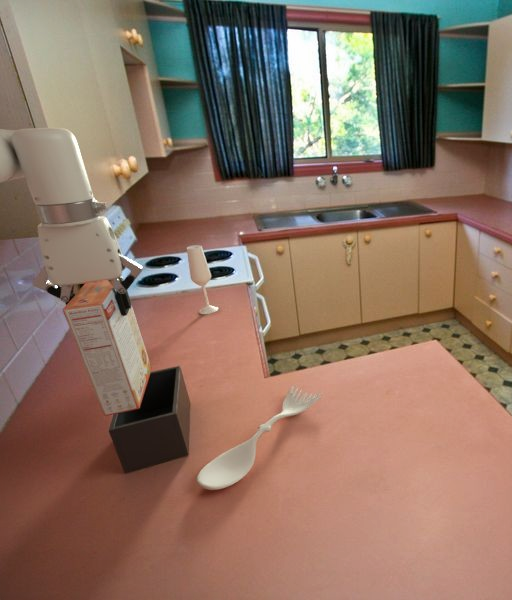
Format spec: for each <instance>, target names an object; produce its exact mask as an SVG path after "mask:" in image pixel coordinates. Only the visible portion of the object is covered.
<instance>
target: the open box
mask: <svg viewBox="0 0 512 600" xmlns="http://www.w3.org/2000/svg"><path fill="white" fill-rule="evenodd" d="M190 425H191V399H190V396H189V393H188V389H187V385H186V382H185V378H184V375H183V371H182V368H181V365H176V366H172V367H168V368H167V367H166V368H162V369H158V370H154V371H151V373H150V376H149V379H148V383H147V386H146V389H145V392H144V396H143V399H142V402H141V405H140V408H139V409H135V410H131V411H126V412H121V413H117V414H112V418H111V421H110V424H109V427H108V433H109V436H110V438H111V440H112V443H113V446H114V448H115V451H116V454H117V457H118V459H119V461H120V464H121V467H122V470H123V473H124V474H129V473H132V472H136V471H139V470H143V469H146V468H150V467H154V466H156V465H160V464H164V463H167V462H171V461H175V460H178V459H181V458H184V457H188V456H189V455H190V428H191V426H190Z"/></svg>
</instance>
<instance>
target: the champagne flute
mask: <svg viewBox="0 0 512 600" xmlns="http://www.w3.org/2000/svg"><path fill="white" fill-rule="evenodd" d="M186 255H187V261H188V268H189V275H190V280H191V281H192V283H194V284H195V285H197V286H199V287H201V291H202V296H203V299H204V303H205V304H204V305H205V306H203V307H201V309H199V310H198V313H199V314H200V315H210V314H213V313H215V312H218V310H219V307H218V306H214V305H211V304H210V302H209V298H208V293H207V289H206V286H207V284H208V283H209V282H210V281H211V279H212V273H211V270H210V268H209V264H208V262H207V257H206V255H205V252H204V249H203V245H200V244H194V245H189V246H187V247H186Z"/></svg>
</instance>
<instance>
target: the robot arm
mask: <svg viewBox="0 0 512 600" xmlns="http://www.w3.org/2000/svg"><path fill="white" fill-rule="evenodd" d="M20 179H25V182H26V185H27V187H28V190H29V192H30V196H31V199H32V200H33V203H34V206H35V210H36V212H37V215H38V217H39V221H40V223H39V224H38V225H37V237H38V242H39V248H40V252H41V256H42V260H43V265H44V266H43V267H42V269H41V270H40V271H39V273H38V274H37V275H36V276H35V278H34V279H33V281H32V282H31V283H32V285H33V287H36V288H38V289H39V290H42V291H45V292H46V293H48V294H49V295H51V296H53V297H55V298H57V299H59V300H60V301H61V302H62V303H65V306H66V305H67V304H68V303H69V302H70V301H71V299H72V298H73V297H74V296H75V295H76V293H74V292H75V287H76V285H84V284H85V283H91V282H98V281H106V280H108V281H109V282H110V283H111V285H112V286H113V287H114V288H115V289H116V290H117V294H116V299H117V302H118V306H119V309H120V312H121V315H123V316H126V315H127V314H128V311H129V309H130V308H131V304H132V301H131V298H130V295H129V292H128V290H129V288H130V287H131V286H132V284H133V283H134V282H135V280H136V279H137V278H138V277H139V276H140V274H141V273H142V272H143V269H144V267H143V266H142V265H141V264H139V263H137V262H136V261H134V260H132V259H131V258H129V257H127V256H126V255H124V254H123V251H122V249H121V246H120V244H119V241H118V238H117V236H116V234H115V232H114V229H113V227H112V225H111V223H110V221H109V220H108V218H107V217H106V216H100V215H101V213H103V212H107V211H109V207H108V204H107V202H106V201H105V202H101V201H98V200H97V198H96V197H94V194H93V193H94V192H93V189H92V187H91V183H90V180H89V176H88V173H87V170H86V167H85V163H84V160H83V157H82V154H81V150H80V147H79V144H78V141H77V138H76V136H75V135H74V133H73V132H72V131H70V130H69V129H66V128H64V127H63V128H62V127H32V128H31V127H30V128H21V129H17V130H15V129H4V128H0V184H2V183H6V182H11V181H14V180H20ZM126 269H128V270H129V272H128V274H127V276H126V277H125V278H124V277H123V278H122V276H123V271H125V270H126ZM121 275H122V276H121Z"/></svg>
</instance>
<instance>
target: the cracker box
mask: <svg viewBox="0 0 512 600" xmlns="http://www.w3.org/2000/svg"><path fill="white" fill-rule="evenodd" d="M121 276H122V278H123V279H124V276H123V274H122V275H121ZM116 294H117V290H116V289H115V288H114V287H113V286H112V285H111V283H110V282H109V281H108V280H106V281H98V282H91V283H84V284H82V287H80V289H79V290H78V291H77V292H76V293H75V296H74V297H73V298H72V299H71V301H70V302H69V303H68V304H67V305H66V304H65V306H64V307H63V308H62V313H63V315H64V318H65V320H66V322H67V325H68V328H69V330H70V333H71V335H72V338H73V340H74V343H75V345H76V348H77V350H78V353H79V355H80V359H81V360H82V364H83V366H84V368H85V371H86V373H87V376H88V379H89V381H90V383H91V386H92V388H93V391H94V394H95V396H96V399H97V401H98V403H99V407H100V409H101V413H102V414H103V416H104V417H107V416H113V414H117V413H121V412H126V411H131V410H135V409H139V408H140V405H141V402H142V399H143V396H144V392H145V389H146V386H147V383H148V379H149V376H150V373H151V372H152V366H151V362H150V359H149V355H148V352H147V349H146V345H145V343H144V340H143V337H142V334H141V330H140V327H139V324H138V321H137V318H136V314H135V311H134V308H133V306H132V303H131V308H130V309H129V311H128V314H127V315H126V316H123V315H121V312H120V309H119V306H118V302H117V299H116Z"/></svg>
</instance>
